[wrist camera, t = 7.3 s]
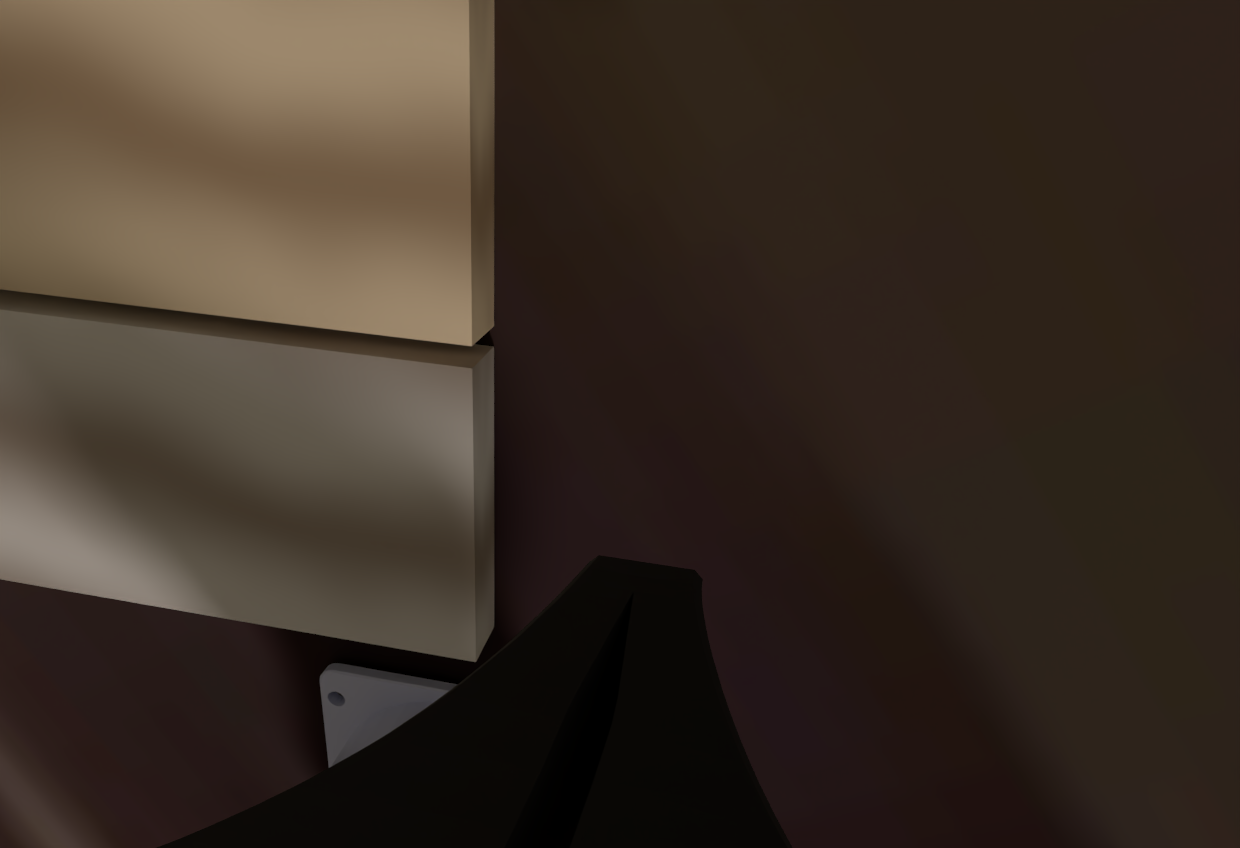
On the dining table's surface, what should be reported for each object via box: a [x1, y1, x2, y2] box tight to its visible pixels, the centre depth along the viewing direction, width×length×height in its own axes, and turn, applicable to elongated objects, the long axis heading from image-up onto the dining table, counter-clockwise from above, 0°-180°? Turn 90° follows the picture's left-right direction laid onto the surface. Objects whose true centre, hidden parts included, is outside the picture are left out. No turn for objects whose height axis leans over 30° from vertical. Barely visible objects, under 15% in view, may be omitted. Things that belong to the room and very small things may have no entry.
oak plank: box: [0, 0, 494, 346], centre depth 19 cm, size 8×22×2 cm, turn 87°
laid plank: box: [0, 289, 494, 662], centre depth 23 cm, size 8×22×2 cm, turn 87°
